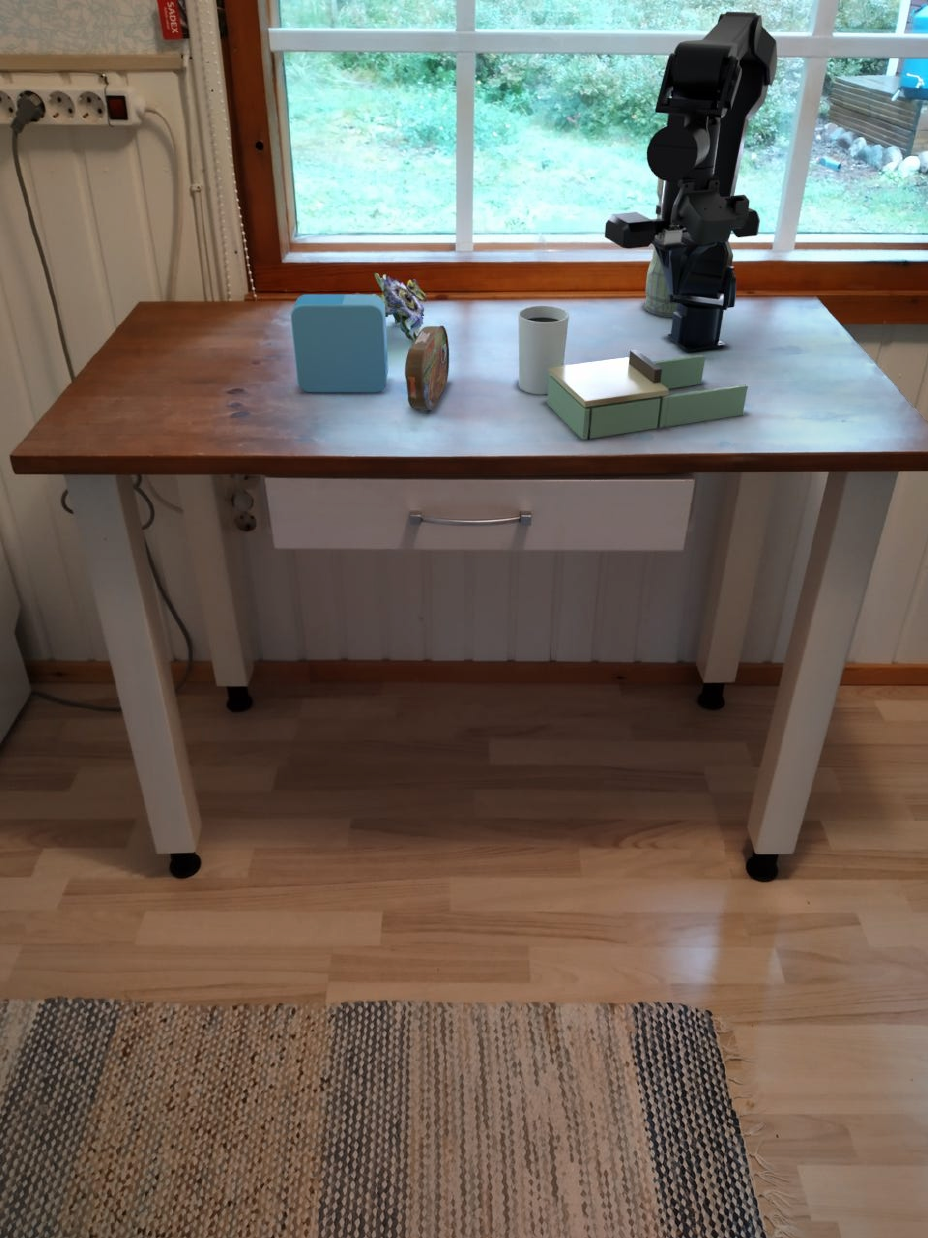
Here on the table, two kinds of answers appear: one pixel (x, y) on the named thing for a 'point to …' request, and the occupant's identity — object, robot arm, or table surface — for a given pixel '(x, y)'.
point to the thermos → (658, 279)
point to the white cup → (540, 345)
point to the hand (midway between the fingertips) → (674, 294)
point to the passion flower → (402, 304)
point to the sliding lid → (611, 380)
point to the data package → (340, 343)
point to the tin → (427, 367)
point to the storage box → (651, 404)
